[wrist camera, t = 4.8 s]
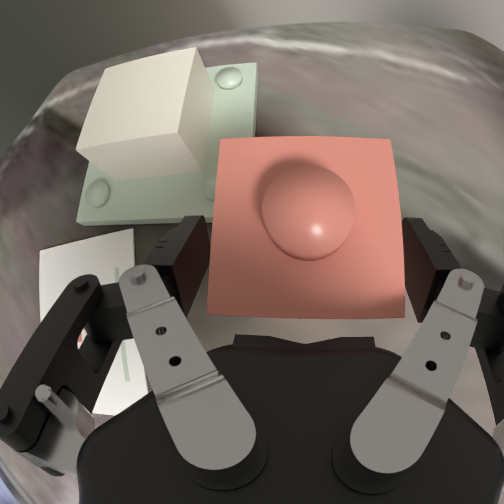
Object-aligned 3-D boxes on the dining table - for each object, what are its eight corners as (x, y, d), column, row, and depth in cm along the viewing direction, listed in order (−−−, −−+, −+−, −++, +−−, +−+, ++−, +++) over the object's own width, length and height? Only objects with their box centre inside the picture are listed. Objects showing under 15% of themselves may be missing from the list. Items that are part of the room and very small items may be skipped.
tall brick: (344, 235, 17) (397, 123, 7) (344, 318, 16) (416, 317, 6) (262, 234, 18) (213, 122, 7) (259, 316, 17) (195, 314, 6)
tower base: (258, 71, 20) (246, 16, 15) (251, 222, 18) (231, 183, 13) (118, 92, 22) (87, 53, 17) (84, 226, 20) (32, 200, 14)
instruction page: (134, 228, 19) (132, 227, 19) (153, 417, 16) (151, 418, 16) (41, 251, 20) (39, 250, 20) (53, 406, 17) (51, 406, 17)
